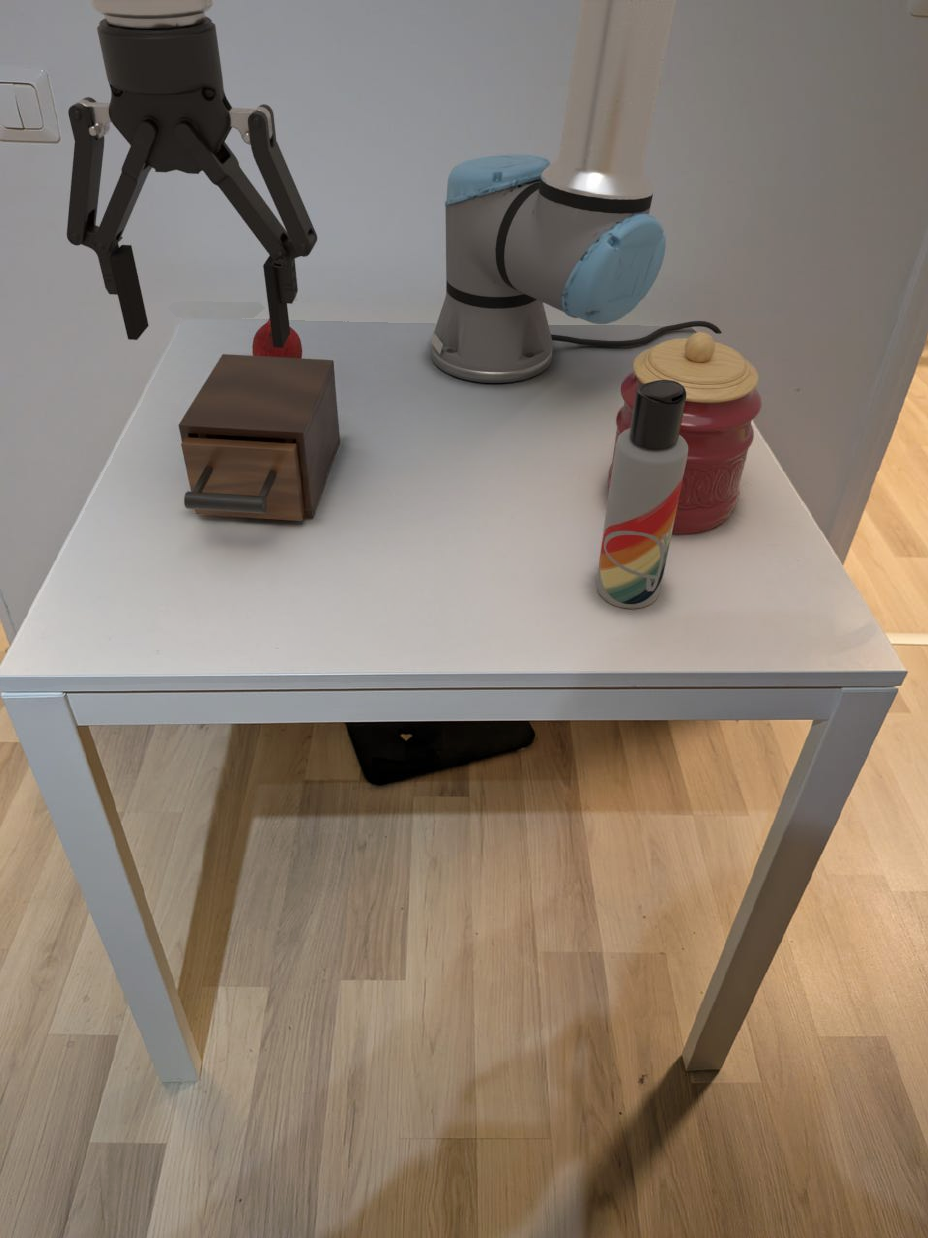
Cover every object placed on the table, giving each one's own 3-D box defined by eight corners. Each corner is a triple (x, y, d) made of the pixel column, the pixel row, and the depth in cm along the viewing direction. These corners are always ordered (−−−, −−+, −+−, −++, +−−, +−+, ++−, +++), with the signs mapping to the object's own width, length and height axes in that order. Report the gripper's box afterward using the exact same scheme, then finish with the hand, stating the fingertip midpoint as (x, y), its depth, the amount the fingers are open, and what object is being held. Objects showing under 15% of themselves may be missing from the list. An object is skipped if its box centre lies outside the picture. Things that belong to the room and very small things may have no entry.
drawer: (288, 558, 84) (278, 486, 79) (176, 551, 85) (159, 478, 80) (329, 447, 99) (323, 380, 94) (233, 441, 99) (221, 374, 94)
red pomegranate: (295, 392, 110) (288, 327, 104) (249, 386, 111) (239, 322, 105) (311, 370, 114) (305, 306, 109) (266, 365, 115) (258, 302, 110)
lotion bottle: (630, 619, 80) (667, 412, 67) (582, 587, 84) (609, 383, 70) (672, 592, 83) (716, 388, 70) (624, 562, 86) (657, 361, 73)
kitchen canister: (752, 489, 96) (796, 325, 84) (707, 553, 88) (748, 381, 76) (637, 452, 101) (663, 292, 89) (583, 509, 93) (604, 341, 81)
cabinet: (312, 519, 91) (303, 432, 84) (196, 511, 91) (178, 425, 85) (340, 441, 102) (333, 359, 95) (236, 435, 102) (222, 353, 96)
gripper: (-49, 19, 58) (48, 348, 73) (322, 33, 57) (345, 365, 71) (5, 0, 64) (85, 309, 78) (344, 12, 63) (361, 324, 77)
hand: (209, 336), depth 75 cm, fingers open, 11 cm apart
